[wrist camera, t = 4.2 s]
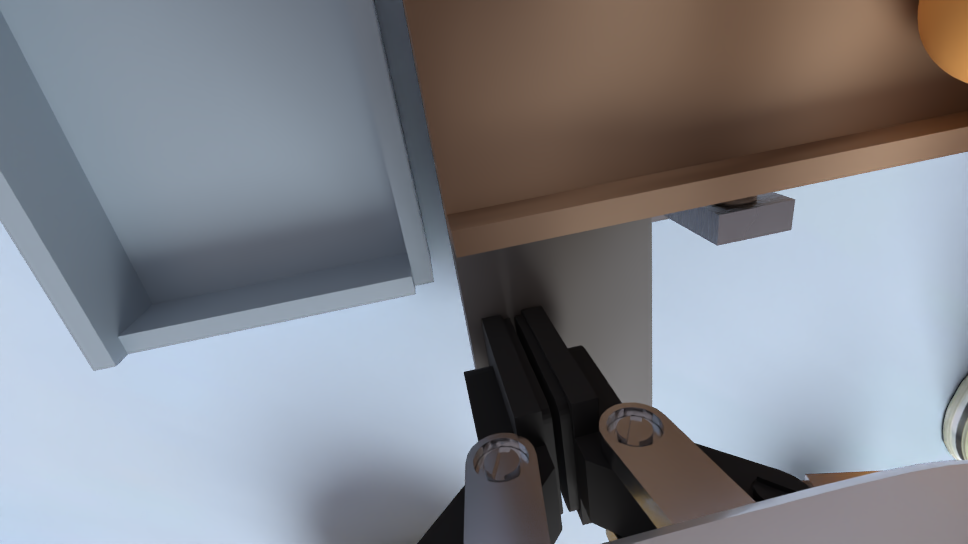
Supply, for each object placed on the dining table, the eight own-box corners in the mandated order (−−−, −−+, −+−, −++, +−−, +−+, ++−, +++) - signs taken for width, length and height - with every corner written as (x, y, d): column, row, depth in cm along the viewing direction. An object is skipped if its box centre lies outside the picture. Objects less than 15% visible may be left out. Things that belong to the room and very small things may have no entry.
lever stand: (719, -212, 12) (928, -398, 7) (701, 203, 17) (821, 258, 12) (575, -194, 12) (695, -376, 7) (598, 224, 17) (678, 288, 12)
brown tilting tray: (978, -169, 12) (1288, -297, 8) (870, 312, 17) (1013, 385, 13) (383, -86, 10) (372, -187, 6) (480, 404, 16) (508, 517, 12)
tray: (337, -163, 12) (316, -239, 9) (430, 258, 16) (436, 298, 14) (-73, -110, 11) (-245, -174, 8) (150, 315, 16) (93, 371, 13)
